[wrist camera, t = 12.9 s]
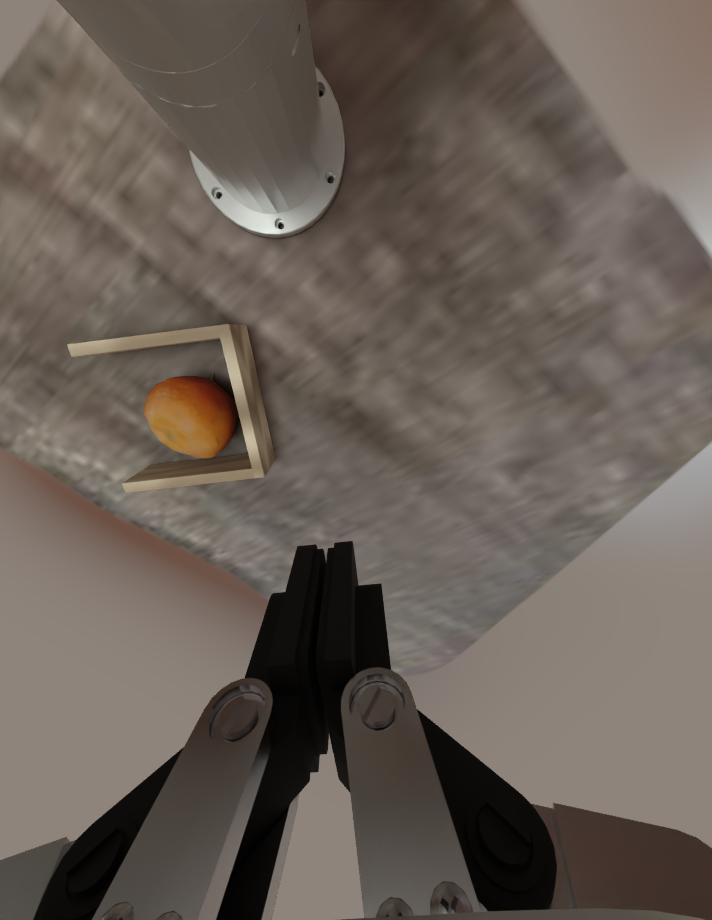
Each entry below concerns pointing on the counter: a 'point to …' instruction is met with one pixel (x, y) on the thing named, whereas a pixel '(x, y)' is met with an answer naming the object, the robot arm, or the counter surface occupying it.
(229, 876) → the robot arm
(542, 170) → the counter surface
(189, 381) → the fruit
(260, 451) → the box
